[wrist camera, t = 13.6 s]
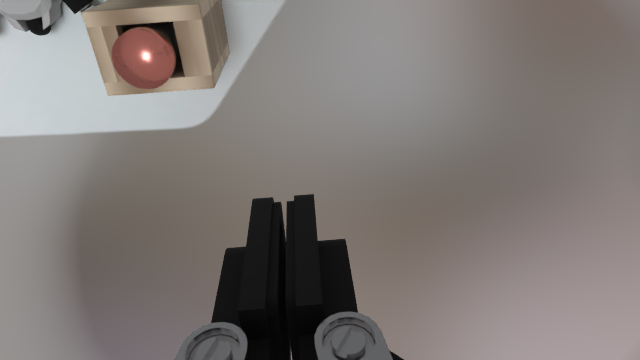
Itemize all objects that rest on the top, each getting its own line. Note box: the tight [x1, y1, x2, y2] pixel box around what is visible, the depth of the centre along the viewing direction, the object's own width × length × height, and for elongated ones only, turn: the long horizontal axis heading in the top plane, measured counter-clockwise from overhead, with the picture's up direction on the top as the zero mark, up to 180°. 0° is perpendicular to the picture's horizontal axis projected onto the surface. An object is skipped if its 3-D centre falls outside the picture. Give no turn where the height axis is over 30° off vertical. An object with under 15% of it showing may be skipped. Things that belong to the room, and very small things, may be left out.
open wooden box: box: [82, 0, 229, 96], centre depth 36 cm, size 8×6×10 cm
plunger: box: [112, 22, 180, 89], centre depth 32 cm, size 4×4×6 cm
